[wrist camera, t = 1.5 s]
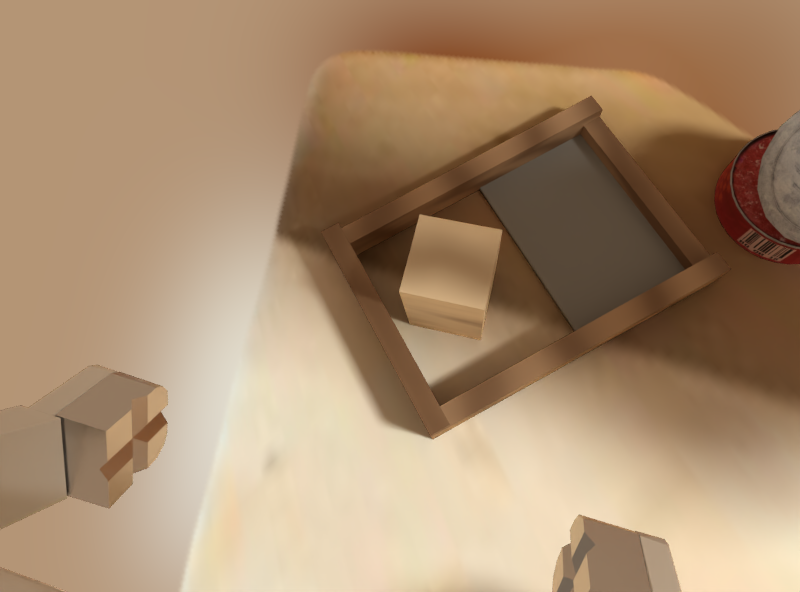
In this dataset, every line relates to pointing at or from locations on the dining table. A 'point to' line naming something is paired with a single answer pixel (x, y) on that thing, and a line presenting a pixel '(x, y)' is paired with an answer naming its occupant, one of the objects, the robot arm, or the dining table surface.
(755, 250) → the canned food
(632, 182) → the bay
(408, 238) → the dining table surface
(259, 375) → the dining table surface
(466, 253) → the tan wooden block
